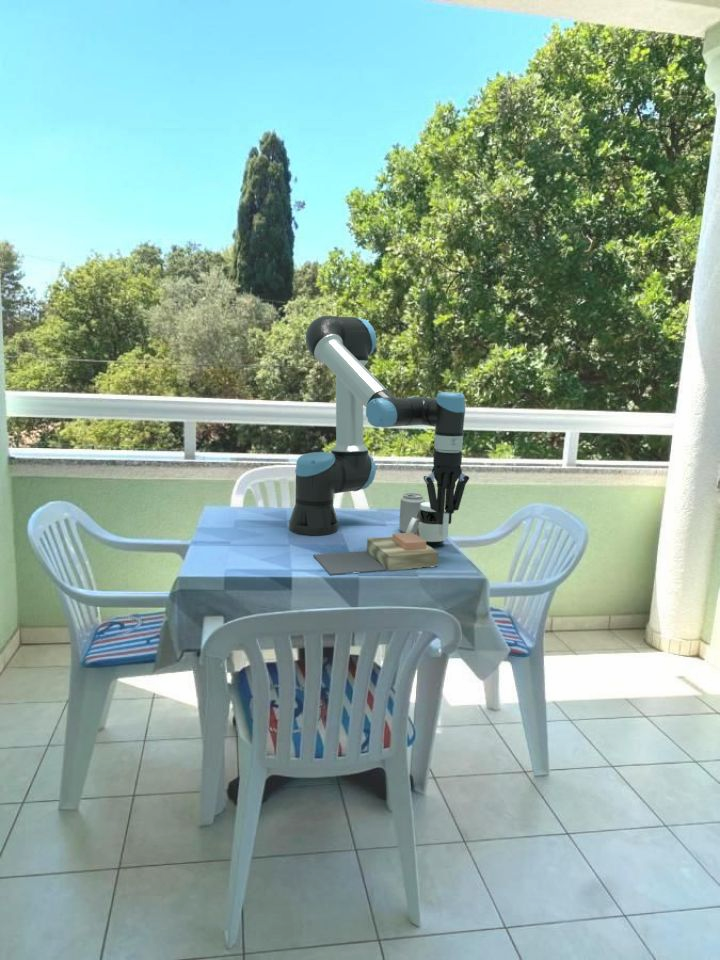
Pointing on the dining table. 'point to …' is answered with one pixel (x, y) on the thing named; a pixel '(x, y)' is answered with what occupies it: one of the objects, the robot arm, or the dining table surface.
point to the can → (409, 509)
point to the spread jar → (426, 525)
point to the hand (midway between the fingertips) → (443, 535)
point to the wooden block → (400, 555)
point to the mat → (348, 562)
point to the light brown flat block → (409, 541)
